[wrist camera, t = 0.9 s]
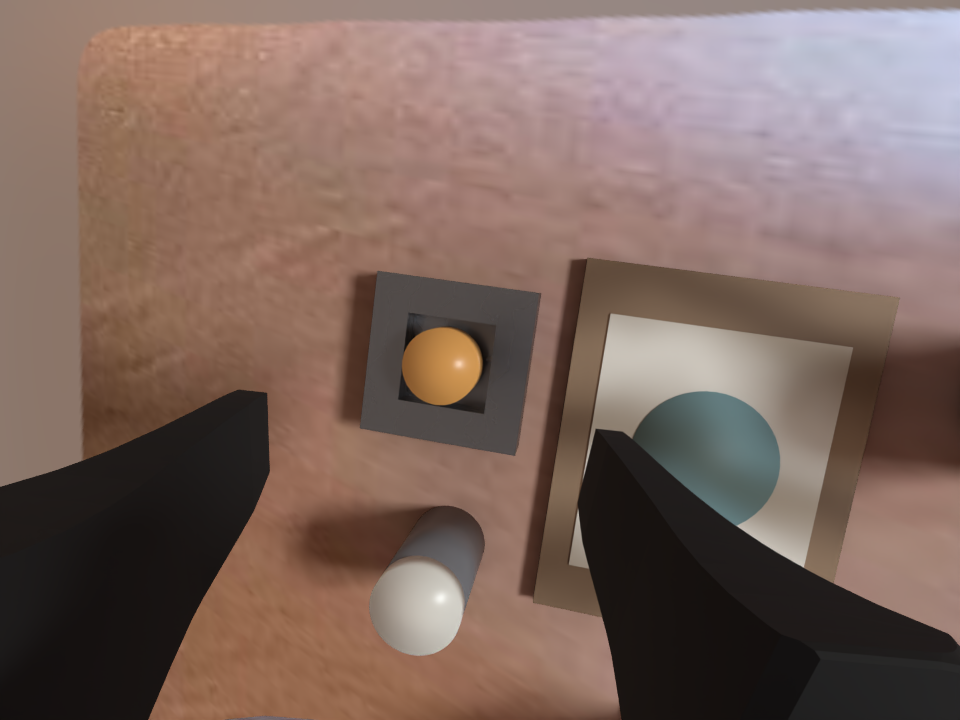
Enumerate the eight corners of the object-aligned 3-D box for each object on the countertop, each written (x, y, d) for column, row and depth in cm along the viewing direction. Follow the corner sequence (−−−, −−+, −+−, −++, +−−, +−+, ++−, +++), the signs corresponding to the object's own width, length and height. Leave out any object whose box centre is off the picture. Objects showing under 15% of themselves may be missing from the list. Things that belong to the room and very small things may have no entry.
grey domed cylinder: (479, 583, 31) (454, 664, 24) (408, 568, 31) (364, 644, 25) (489, 513, 30) (466, 576, 24) (417, 499, 31) (374, 557, 24)
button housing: (518, 445, 30) (514, 456, 28) (373, 419, 31) (359, 428, 29) (541, 293, 29) (539, 293, 27) (390, 272, 30) (377, 270, 28)
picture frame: (808, 652, 29) (816, 664, 28) (533, 594, 30) (532, 604, 30) (889, 297, 26) (901, 297, 25) (587, 258, 28) (587, 257, 27)
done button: (477, 404, 28) (472, 410, 26) (407, 392, 28) (397, 398, 27) (487, 332, 27) (482, 334, 26) (416, 321, 28) (406, 323, 26)
